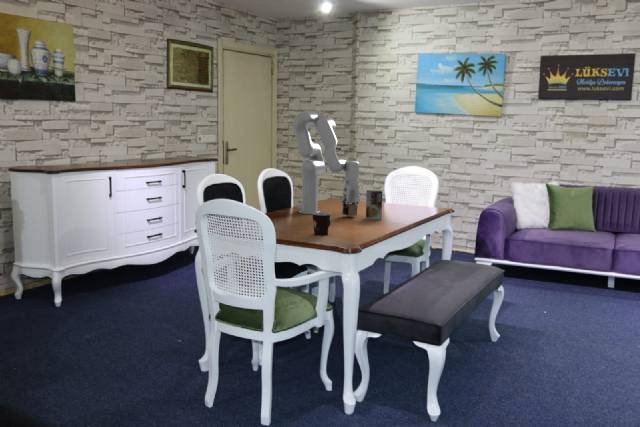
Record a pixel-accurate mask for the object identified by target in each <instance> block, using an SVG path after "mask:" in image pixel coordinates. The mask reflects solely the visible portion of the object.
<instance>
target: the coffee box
mask: <svg viewBox="0 0 640 427" xmlns="http://www.w3.org/2000/svg"><path fill="white" fill-rule="evenodd" d="M365 197H366V198H365V202H366V204H365V220H377V221H378V220H380V221H382V217H383V215H382V214H383V213H382V212H383V211H382V210H383V190H376V189H375V190H373V189H372V190H371V189H370V190H369V189H367V190H366V196H365Z"/></svg>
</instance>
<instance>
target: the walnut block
mask: <svg viewBox="0 0 640 427" xmlns="http://www.w3.org/2000/svg"><path fill="white" fill-rule="evenodd" d="M343 210H344V207H343V206H342V210H341V211H342V212H341V213H342V214H341V215H344V216H347V217H348V216H349V217H353V216H357V215H358V204H357V205H355V204H352V203H349V205H348V214H343Z"/></svg>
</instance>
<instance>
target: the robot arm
mask: <svg viewBox="0 0 640 427" xmlns="http://www.w3.org/2000/svg"><path fill="white" fill-rule="evenodd" d="M308 127H314V128H315V129H316V130H317V133H318V136H319V138H320V140H321V142H322V144H323V152H324V153H323V152H322V148H321V146H320V145H319V143H317V142H316V141H312V138H311V133H310V131H309V130H308ZM336 127H337V126H336V123H335V121H334V120H333V119H332V118H330V117H328V116H325V115H323V114H321V113H318V112H316V111H307V110H304V111H300V112H298V113H297V114H296V115H295V116H294V118H293V121H292V128H293V132H294V135H295V139H296V143H297V148H298V152H299V155H300V157H302V158H304V159H307V160H305V161H304V162H303V163H302V164H301V166H300V173H301V204H299V205H298V206H297V208H298V209H300V210H298V213H300V214H304V215H313V213H321V210H319V209H318V208H319V207H318V205H319V204H318V201H319V196H318V195H319V179H318V176H320V175H322V174H323V173H324V172H325V169H326V165H325V164H327V167H328V168H329V170H330V171H331V172H332V173H334V174H340V173H341V174H342V173H345V178H344V184H343V185H344V187H343V190H342V198H341V200H340V203H341V205H342V208H343V207H344V210H343V214H348V205H349V204H355V205H357V206H358V204H359V202H360V201H361V200H360V186H359V175H360V162H359V161H356V160H347V159H339V157H338V155H337V152H336V147H337V145H338V138H337V136H336V134H335V132H334V131H335V130H336ZM323 154H324V156H323ZM324 158H325V160H324ZM325 162H326V163H325ZM343 214H342V215H343Z"/></svg>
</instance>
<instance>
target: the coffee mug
mask: <svg viewBox="0 0 640 427" xmlns="http://www.w3.org/2000/svg"><path fill="white" fill-rule="evenodd" d="M312 222H313V223H312V224H313V225H312V226H313V233H314V234H315V235H314V236H317V235H322V236H321V237H324V236H323V235H326V236H328V234H329V228H330V225H331V213H328V212H320V213H313V214H312Z"/></svg>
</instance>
